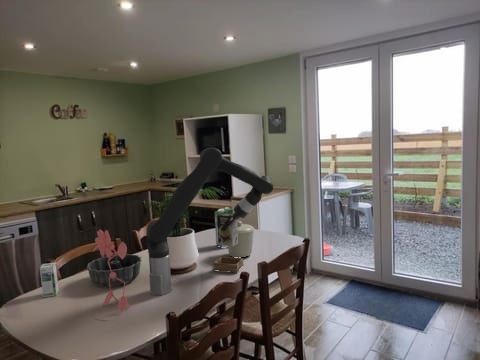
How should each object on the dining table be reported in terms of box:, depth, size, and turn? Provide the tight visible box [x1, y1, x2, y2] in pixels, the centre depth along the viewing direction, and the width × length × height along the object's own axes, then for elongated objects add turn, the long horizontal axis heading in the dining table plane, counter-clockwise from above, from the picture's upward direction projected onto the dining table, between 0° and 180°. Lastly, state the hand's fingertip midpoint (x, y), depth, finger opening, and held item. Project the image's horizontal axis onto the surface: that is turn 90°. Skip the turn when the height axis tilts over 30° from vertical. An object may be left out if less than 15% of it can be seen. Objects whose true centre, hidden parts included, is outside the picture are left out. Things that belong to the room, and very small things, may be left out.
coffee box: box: [217, 213, 238, 246], centre depth 191 cm, size 9×6×16 cm
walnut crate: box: [213, 256, 244, 273], centre depth 194 cm, size 10×13×4 cm
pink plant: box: [92, 229, 131, 322], centre depth 149 cm, size 15×26×35 cm, turn 51°
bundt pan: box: [86, 253, 142, 288], centre depth 184 cm, size 26×26×10 cm
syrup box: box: [39, 262, 59, 298], centre depth 169 cm, size 6×6×14 cm
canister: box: [227, 220, 255, 258], centre depth 214 cm, size 18×18×21 cm
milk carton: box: [214, 206, 234, 247], centre depth 234 cm, size 9×9×25 cm
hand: (224, 228), depth 192 cm, fingers closed on coffee box, 7 cm apart
